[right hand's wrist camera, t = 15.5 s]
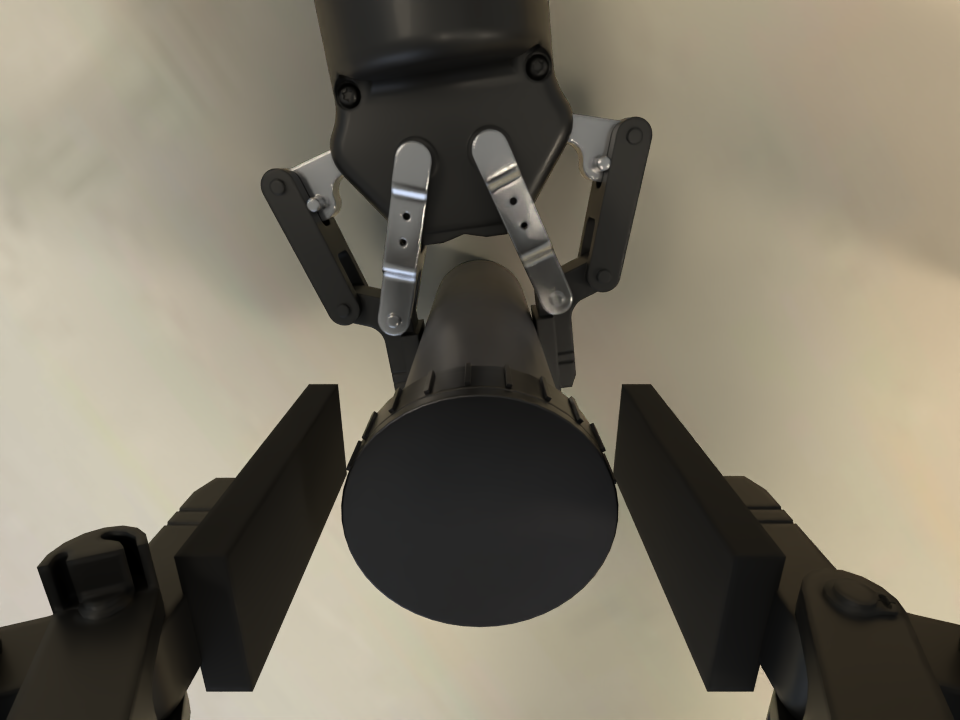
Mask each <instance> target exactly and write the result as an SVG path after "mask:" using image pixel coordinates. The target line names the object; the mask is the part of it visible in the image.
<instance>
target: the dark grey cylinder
mask: <svg viewBox="0 0 960 720" xmlns="http://www.w3.org/2000/svg"><path fill="white" fill-rule="evenodd" d="M468 362H471V366H476V365H484V366H498V367H503V368H504V365H505V364H507V365H510V369H514V370H517V371H520V372H524V373H527V374H530V375H532V376H534V377H536V378H539V379H540V377H541V376H543V377H545V378H546V381H547V383H548V384H550V385H551V386H553V387H555V385H554V382H553V379H552V376H551V373H550V370H549V367H548V364H547V361H546V358H545V355H544V352H543V349H542V347H541V344H540V341H539V338H538V335H537V332H536V329H535V326H534V323H533V320H532V317H531V314H530V311H529V308H528V306H527V303H526V300H525V297H524V294H523V291H522V288H521V286H520V284H519V282H518V280H517V279H516V277H515V276H514V275H513V274H512V273H511V272H510V271H509V270H508V269H506V268H505V267H503V266H501V265H499V264H497V263H495V262H491V261H486V260H474V261H469V262H465V263H463V264H461V265H458V266H457V267H455V268H454V269H452V270H451V271H450V272H449V273H448V274H447V275H446V276H445V277H444V279H443V280H442V282H441V284H440V286H439V288H438V291H437V294H436V297H435V300H434V303H433V306H432V308H431V311H430V314H429V317H428V320H427V323H426V326H425V329H424V332H423V335H422V338H421V341H420V344H419V347H418V349H417V352H416V355H415V358H414V361H413V364H412V367H411V370H410V373H409V376H408V379H407V382H406V385H405V387H407V386H408V385H410V384H411V383H413V382H415V381H417V380H419V379H421V378H423V377H425V376H427V375H428V372H429V371H431V370H433V371H434V373H436V372H439V371H442V370H446V369H451V368H456V367H462V366H466V363H468ZM405 387H404V388H405Z"/></svg>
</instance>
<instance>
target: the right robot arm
mask: <svg viewBox="0 0 960 720" xmlns="http://www.w3.org/2000/svg"><path fill="white" fill-rule="evenodd" d="M613 474H614V476H615V479H616V482H617V484H618V486H619V489H620V491H621V493H622V496H623V498H624V500H625V503H626V505H627V507H628V509H629V512H630V514H631V516H632V519H633V521H634V523H635V526H636V528H637V530H638V533H639V535H640V537H641V539H642V542H643V544H644V546H645V549H646V551H647V553H648V556H649V558H650V560H651V563H652V565H653V567H654V569H655V572H656V574H657V576H658V579H659V581H660V583H661V586H662V588H663V590H664V593H665V595H666V597H667V599H668V602H669V604H670V606H671V609H672V611H673V613H674V616H675V618H676V620H677V623H678V625H679V627H680V629H681V632H682V634H683V636H684V639H685V641H686V643H687V646H688V648H689V650H690V653H691V655H692V657H693V659H694V662H695V664H696V666H697V669H698V671H699V673H700V676H701V678H702V680H703V683H704V685H705V687H706V689H707V692H754V688H755V683H756V679H757V675H758V671H759V667H760V665H761V667H762V668H763V670H764V672H765V674H766V675H767V677H768V679H769V681H770V683H771V684H772V686H773V688H774V691H773V695H772V698H771V702H770V706H769V710H768V714H767V718H766V720H960V625H958V624H954V623H949V622H945V621H940V620H936V619H931V618H927V617H923V616H918V615H914V614H910V613H907V612H906V611H905V610H904V608H903V607H902V606H901V604H900V603H899V601H898V600H897V599H896V598H895V597H893V596H892V595H891V594H890V593H888V592H887V591H886V590H885V589H883V588H882V587H881V586H879V585H877V584H875V583H873V582H871V581H869V580H868V579H866V578H864V577H862V576H859V575H856V574H853V573H849V572H846V571H843V570H837V569H836V568H835V567H834V566H833V565H832V564H831V563H830V562H829V560H828V559H827V558H826V557H825V556H824V555H823V554H822V553H821V551H820V550H819V549H818V548H817V547H816V546H815V545H814V543H813V542H812V541H811V540H810V539H809V538H808V537H807V536H806V534H805V533H804V532H803V531H802V530H801V529H800V528H799V527H798V525H797V524H793V520H792V519H791V517H790V516H789V515H788V514H787V513H786V512H785V511H784V510H781V506H780V505H779V504H778V503H777V502H776V501H775V499H774V498H773V497H772V496H771V495H770V494H769V493H768V492H767V490H765V489H764V488H762V487H760V486H759V485H757V484H756V483H754V482H753V481H751V480H749V479H748V478H746V477H745V476H723V475H722V474H721V473H720V472H719V470H718V469H717V468H716V466H715V465H714V464H713V463H712V461H711V460H710V459H709V458H708V456H707V455H706V454H705V452H704V451H703V450H702V449H701V447H700V446H699V445H698V444H697V442H696V441H695V440H694V438H693V437H692V436H691V435H690V433H689V432H688V431H687V430H686V428H685V427H684V426H683V424H682V423H681V422H680V421H679V419H678V418H677V417H676V416H675V414H674V413H673V412H672V410H671V409H670V408H669V407H668V405H667V404H666V403H665V402H664V400H663V399H662V398H661V396H660V395H659V394H658V393H657V391H656V390H655V389H654V388H653V386H652V385H651V384H622V390H621V400H620V411H619V421H618V431H617V441H616V451H615V461H614V471H613ZM346 475H347V471H346V461H345V451H344V441H343V431H342V421H341V411H340V400H339V390H338V384H309V385H308V386H307V388H306V389H305V390H304V391H303V393H302V394H301V395H300V396H299V398H298V399H297V400H296V402H295V403H294V404H293V405H292V407H291V408H290V409H289V410H288V412H287V413H286V414H285V416H284V417H283V418H282V419H281V421H280V422H279V423H278V424H277V426H276V427H275V428H274V430H273V431H272V432H271V433H270V435H269V436H268V437H267V438H266V440H265V441H264V442H263V444H262V445H261V446H260V447H259V449H258V450H257V451H256V452H255V454H254V455H253V456H252V458H251V459H250V460H249V461H248V463H247V464H246V465H245V466H244V468H243V469H242V470H241V472H240V473H239V474H238V475H237V477H236V478H215V479H214V480H212V481H210V482H209V483H207V484H206V485H204V486H203V487H201V488H199V489H198V490H196V491H195V492H194V493H193V494H192V495H191V496H190V497H189V498H188V499H187V501H186V502H185V503H184V504H183V505H182V506H181V507H180V511H179V512H176V513H175V514H174V515H173V516H172V518H171V519H170V520H169V521H168V524H167V526H164V527H163V528H162V529H161V530H160V531H159V532H158V533H157V535H156V536H155V537H154V538H153V539H152V540H151V541H150V543H149V544H148V541H147V537H146V534H145V533H144V532H142V531H141V530H140V529H138V528H135V527H129V526H115V527H106V528H102V529H98V530H95V531H91V532H88V533H84V534H82V535H80V536H78V537H76V538H74V539H72V540H69V541H67V542H65V543H63V544H62V545H61V546H59V547H58V548H56V549H55V550H54V551H52V552H51V553H49V554H48V555H47V556H46V557H45V558H44V559H43V561H42V562H41V563H40V564H39V565H38V567H37V569H38V572H39V575H40V578H41V580H42V583H43V586H44V589H45V592H46V594H47V597H48V600H49V603H50V606H51V609H52V611H53V615H51V616H48V617H44V618H39V619H35V620H30V621H26V622H21V623H17V624H13V625H8V626H4V627H0V720H190V713H191V711H190V704H189V698H188V695H187V689H188V687H189V685H190V684H191V682H192V680H193V678H194V676H195V675H196V673H197V671H198V669H199V667H201V671H202V675H203V679H204V683H205V688H206V692H253V689H254V687H255V685H256V683H257V680H258V678H259V676H260V673H261V671H262V669H263V666H264V664H265V662H266V659H267V657H268V655H269V653H270V650H271V648H272V646H273V643H274V641H275V639H276V636H277V634H278V632H279V629H280V627H281V625H282V623H283V620H284V618H285V616H286V613H287V611H288V609H289V606H290V604H291V602H292V599H293V597H294V595H295V593H296V590H297V588H298V586H299V583H300V581H301V579H302V576H303V574H304V572H305V569H306V567H307V565H308V563H309V560H310V558H311V556H312V553H313V551H314V549H315V546H316V544H317V542H318V539H319V537H320V535H321V533H322V530H323V528H324V526H325V523H326V521H327V519H328V516H329V514H330V512H331V509H332V507H333V505H334V503H335V500H336V498H337V496H338V493H339V491H340V489H341V486H342V484H343V482H344V479H345V477H346Z"/></svg>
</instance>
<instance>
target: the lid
mask: <svg viewBox="0 0 960 720" xmlns="http://www.w3.org/2000/svg"><path fill="white" fill-rule="evenodd" d="M362 439H363V440H362V441H358V443H357V445H356V447H355V450H354V452H353V454H352V456H351V459H350V461H349V463H348V465H347V468H346V470H348V471H349V473H348V475H347V479H346V482H345V486H344V489H343V496H342V503H341V512H342V524H343V530H344V535H345V538H346V541H347V544H348V547H349V550H350V552H351V554H352V556H353V558H354V560H355V562H356V564H357V565H358V566H359V568H360V569H361V571H362V572H363V573H364V575H365V576H366V577H367V578H368V580H369V581H370V582H371V583H372V584H373V585H374V586H375V587H376V588H377V589H378V590H379V591H381V592H382V593H383V594H384V595H385V596H387V597H388V598H389V599H391V600H392V601H394V602H395V603H397V604H398V605H400V606H401V607H403V608H405V609H407V610H409V611H411V612H413V613H415V614H418V615H420V616H423V617H426V618H428V619H431V620H435V621H439V622H442V623H446V624H452V625H459V626H469V627H490V626H501V625H508V624H514V623H517V622H521V621H525V620H529V619H532V618H534V617H537V616H540V615H542V614H545V613H547V612H549V611H551V610H553V609H554V608H556V607H558V606H560V605H561V604H563V603H565V602H566V601H568V600H569V599H571V598H572V597H573V596H574V595H576V594H577V593H578V592H579V591H580V590H582V589H583V588H584V587H585V586H586V585H587V584H588V582H589V581H590V580H591V579H592V578H593V577H594V576H595V575H596V573H597V572H598V570H599V569H600V567H601V566H602V565H603V563H604V561H605V559H606V557H607V555H608V553H609V551H610V549H611V546H612V543H613V540H614V537H615V534H616V528H617V523H618V498H617V490H616V487H615V484H616V479H615V476H614V474H613V472H612V469H611V467H610V465H609V462H608V460H607V458H606V456H605V454H603V452H604V451H606V450H605V447H604V445H603V443H602V441H601V438H600V436H599V434H598V432H597V429H596V427H595V425H594V423H592V424H589V422H588V421H587V419H586V418H585V416H584V415H583V413H582V412H581V411H580V410H579V408H578V406H577V403H576V401H575V399H574V398H573V397H572V396H571V397H570V398H568V397H566V396H565V395H564V394H563V393H562V392H560V391H559V390H558V389H556V388H555V387H553V386H551V385H550V384H548V383H547V381H546V378H545V377H543V376H541V377H540V379H539V378H536V377H534V376H532V375H530V374H527V373H524V372H520V371H517V370H514V369H510V365H507V364H505V365H504V368H503V367H498V366H484V365H476V366H471V362H468V363H466V366H462V367H456V368H451V369H446V370H442V371H439V372H436V373H434V371H433V370H431V371H429V372H428V375H427V376H425V377H423V378H421V379H419V380H417V381H415V382H413V383H411V384H410V385H408V386H407V387H405V388H404V389H401V388H400V387H399V388H397V389H396V391H395V394H394V396H393V397H392V398H391V399H390V400H389V401H388V402H387V403H386V404H385V405H384V406H383V407H382V408H381V409H380V411H379V412H378V413H376V412H375V411H374V412H373V414H372V415H371V418H370V420H369V422H368V424H367V427H366V429H365V431H364V434H363V436H362Z"/></svg>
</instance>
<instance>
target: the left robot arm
mask: <svg viewBox="0 0 960 720" xmlns="http://www.w3.org/2000/svg"><path fill="white" fill-rule="evenodd" d="M314 2H315V7H316V12H317V16H318V21H319V26H320V31H321V36H322V41H323V45H324V50H325V55H326V60H327V65H328V70H329V74H330V79H331V84H332V89H333V94H334V98H335V105H336V119H335V125H334V129H333V132H332V135H331V140H330V150H328V151H326V152H324V153H322V154H320V155H318V156H316V157H314V158H312V159H310V160H308V161H305V162H303V163H301V164H299V165H297V166H295V167H293V168H278V169H270V170H268V171H267V172H266V173H265V174H264V175H263V177H262V179H261V190H262V192H263V195H264V196H265V198H266V200H267V202H268V204H269V206H270V208H271V209H272V211H273V213H274V215H275V217H276V219H277V220H278V222H279V224H280V226H281V228H282V230H283V232H284V233H285V235H286V237H287V239H288V241H289V243H290V244H291V246H292V248H293V250H294V252H295V254H296V256H297V257H298V259H299V261H300V263H301V265H302V267H303V268H304V270H305V272H306V274H307V276H308V278H309V280H310V281H311V283H312V285H313V287H314V289H315V291H316V292H317V294H318V296H319V298H320V300H321V302H322V304H323V305H324V307H325V309H326V311H327V313H328V315H329V316H330V318H331V319H332V320H333V321H334V322H335V323H337V324H339V325H350V324H352V323H355V324H359V325H364V326H369V327H372V328H374V329H376V330H377V331H379V332H380V333H381V335H382V336H383V338H384V340H385V343H386V348H387V353H388V358H389V363H390V368H391V373H392V377H393V382H394V387H395V391H396V389H397V388H399V387H400V388H401V389H404V387H405V385H406V382H407V379H408V376H409V373H410V370H411V367H412V364H413V361H414V358H415V355H416V352H417V349H418V347H419V344H420V341H421V338H422V335H423V332H424V329H425V324H424V319H421V320H418V318H417V312H416V309H417V303H418V296H419V289H420V283H421V276H422V270H423V265H424V261H425V256H426V249H427V245H431V244H438V243H444V242H446V241H449V240H451V239H453V238H456V237H458V236H460V235H463V234H469V235H476V236H484V237H489V236H496V235H504V234H508V233H509V236H510V238H511V240H512V242H513V244H514V246H515V249H516V251H517V253H518V255H519V257H520V259H521V262H522V264H523V266H524V268H525V270H526V272H527V274H528V277H529V279H530V281H531V283H532V285H533V287H534V292H535V302H536V305H531V312H532V320H533V323H534V326H535V329H536V332H537V335H538V338H539V341H540V344H541V347H542V349H543V352H544V355H545V358H546V361H547V364H548V367H549V370H550V373H551V376H552V379H553V382H554V385H555V388H556V389H558V390H559V391H560V392H561V388H566V387H572V385H573V382H574V379H575V376H576V370H575V358H574V345H573V333H572V321H571V315H572V311H573V309H574V307H575V305H576V304H577V303H578V302H579V301H580V300H582V299H584V298H586V297H588V296H590V295H592V294H594V293H596V292H608V291H610V290H612V289H613V288H615V287H616V285H617V284H618V282H619V280H620V276H621V272H622V267H623V263H624V259H625V254H626V250H627V245H628V241H629V237H630V232H631V228H632V223H633V219H634V215H635V210H636V206H637V201H638V197H639V193H640V188H641V184H642V179H643V175H644V171H645V166H646V162H647V157H648V153H649V149H650V144H651V140H652V129H651V126H650V124H649V123H648V122H647V121H646V120H645V119H643V118H641V117H631V118H625V119H622V120H611V119H605V118H598V117H591V116H585V115H578V114H572V110H571V107H570V104H569V102H568V101H567V99H566V98H565V96H564V95H563V93H562V91H561V89H560V87H559V85H558V83H557V80H556V77H555V72H554V66H553V54H552V41H551V29H550V16H549V3H548V0H314ZM566 144H569V145H571V146H573V147H574V148H575V150H576V151H577V153H578V157H579V165H578V166H579V171H580V173H581V175H582V176H583V177H584V178H586V179H587V180H591V181H593V182H592V187H591V192H590V197H589V202H588V207H587V212H586V217H585V223H584V228H583V233H582V238H581V243H580V248H579V253H578V258H576V259H574V260H572V261H570V262H568V263H566V264H564V265H562V266H560V264H559V262H558V259H557V257H556V255H555V252H554V250H553V246H552V244H551V241H550V239H549V237H548V234H547V232H546V230H545V227H544V225H543V223H542V221H541V218H540V216H539V214H538V211H537V209H536V207H535V205H534V203H535V201H536V199H537V197H538V195H539V194H540V192H541V190H542V188H543V186H544V184H545V183H546V181H547V179H548V177H549V175H550V173H551V172H552V170H553V168H554V166H555V164H556V163H557V161H558V159H559V157H560V155H561V153H562V152H563V150H564V148H565V146H566ZM344 177H345V178H346V179H347V180H348V181H349V182H350V183H351V184H352V185H353V186H354V187H355V188H356V189H357V190H358V191H359V192H360V193H361V194H362V195H363V196H364V197H365V198H366V199H367V200H368V201H369V202H370V203H371V204H372V205H373V206H374V207H375V208H376V209H377V210H378V211H379V213H380V214H381V215H382V216H383V217H384V218H385V219H386V220H387V221H388V225H387V233H386V241H385V249H384V257H383V267H382V270H383V282H382V289H378V288H374V287H369V286H368V284H367V282H366V280H365V278H364V276H363V274H362V272H361V270H360V268H359V266H358V264H357V262H356V261H355V259H354V257H353V255H352V253H351V251H350V249H349V247H348V245H347V243H346V241H345V239H344V237H343V235H342V233H341V231H340V229H339V227H338V225H337V223H336V221H335V219H334V217H335V216H336V215H337V214H338V213H339V212H340V210H341V206H342V202H341V198H340V195H339V184H340V182H341V180H342V179H343V178H344ZM507 231H508V232H507Z"/></svg>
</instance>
